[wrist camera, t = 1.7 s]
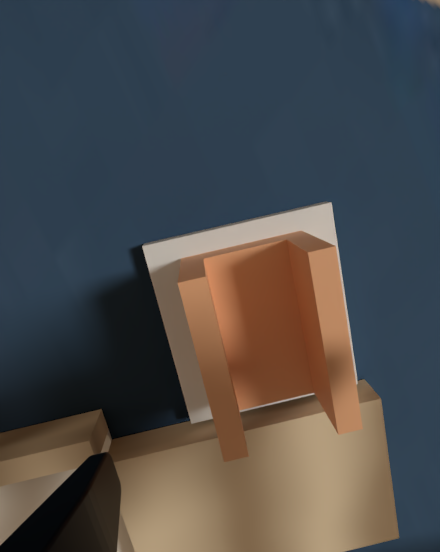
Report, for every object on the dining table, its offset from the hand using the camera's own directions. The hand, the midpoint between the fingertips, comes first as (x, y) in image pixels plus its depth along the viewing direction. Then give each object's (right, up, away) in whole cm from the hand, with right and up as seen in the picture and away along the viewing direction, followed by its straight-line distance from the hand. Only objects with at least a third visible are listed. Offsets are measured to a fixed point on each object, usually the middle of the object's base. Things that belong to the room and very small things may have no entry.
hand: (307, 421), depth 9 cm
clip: (-1, +2, +6) cm, 6 cm away
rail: (-5, -7, +8) cm, 12 cm away
